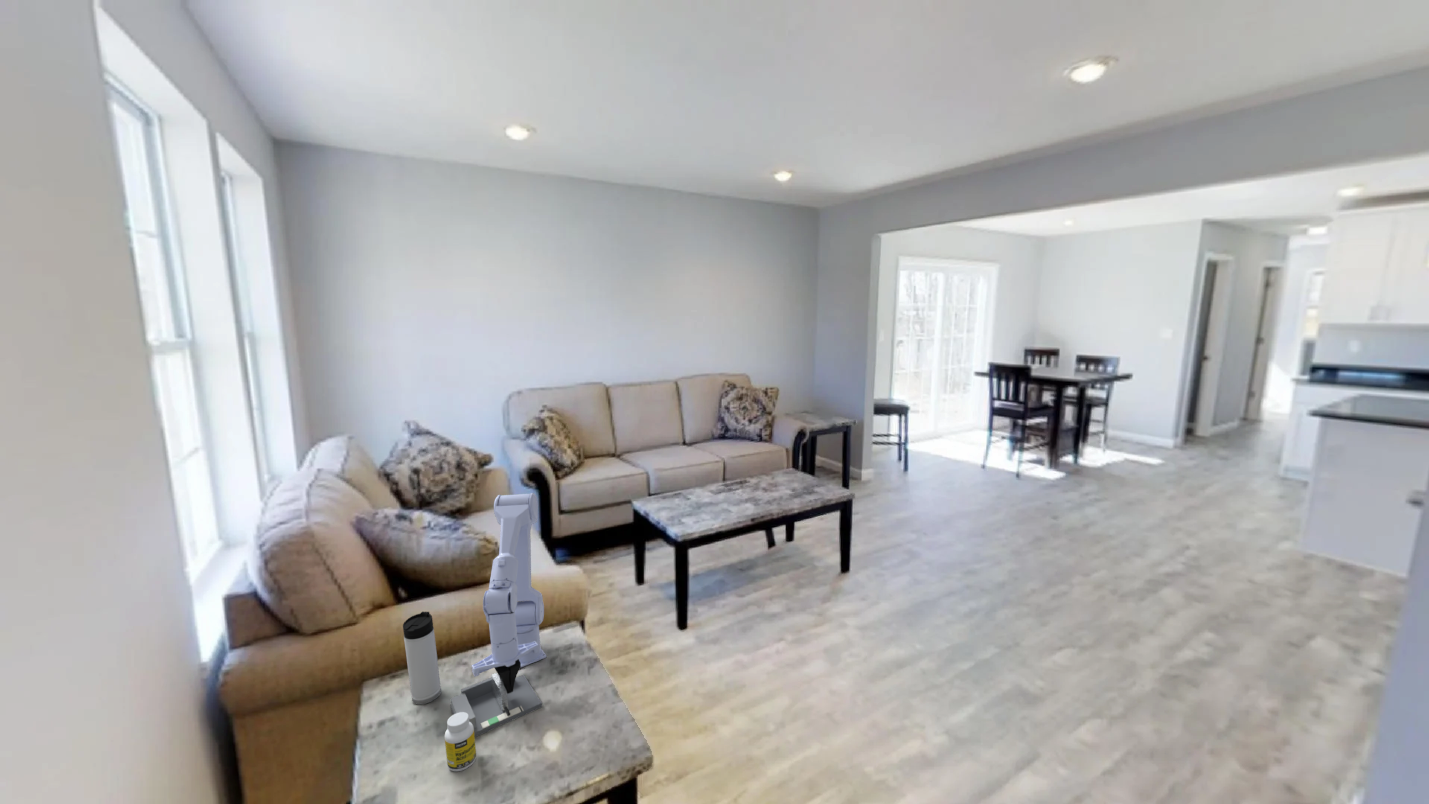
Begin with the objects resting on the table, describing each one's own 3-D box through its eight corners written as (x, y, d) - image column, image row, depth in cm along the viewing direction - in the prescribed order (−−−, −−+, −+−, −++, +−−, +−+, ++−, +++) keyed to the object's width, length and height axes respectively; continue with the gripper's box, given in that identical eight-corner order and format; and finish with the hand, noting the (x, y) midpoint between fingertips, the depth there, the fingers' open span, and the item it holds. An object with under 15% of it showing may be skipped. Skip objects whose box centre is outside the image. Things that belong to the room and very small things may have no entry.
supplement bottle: (456, 777, 109) (451, 732, 108) (442, 764, 112) (437, 721, 111) (482, 759, 113) (477, 716, 112) (468, 747, 117) (463, 705, 115)
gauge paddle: (493, 692, 131) (491, 674, 131) (498, 690, 132) (496, 672, 131) (506, 717, 123) (504, 698, 122) (511, 715, 124) (509, 696, 123)
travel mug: (447, 686, 136) (438, 611, 133) (431, 705, 130) (421, 626, 126) (423, 685, 137) (414, 610, 134) (406, 704, 130) (395, 625, 127)
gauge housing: (450, 708, 128) (448, 692, 128) (524, 678, 138) (522, 663, 138) (463, 741, 118) (462, 725, 117) (542, 706, 128) (541, 691, 127)
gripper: (475, 657, 120) (481, 714, 122) (541, 633, 129) (545, 686, 131) (467, 642, 126) (473, 696, 128) (530, 620, 134) (535, 671, 136)
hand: (509, 690), depth 130 cm, fingers closed
